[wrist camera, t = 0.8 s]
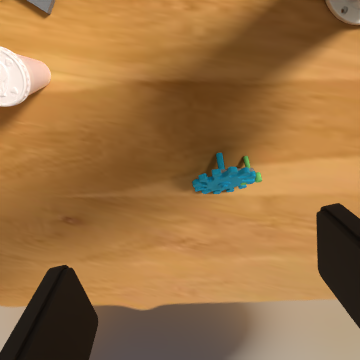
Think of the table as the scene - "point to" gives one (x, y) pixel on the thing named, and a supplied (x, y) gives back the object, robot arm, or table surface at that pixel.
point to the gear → (226, 178)
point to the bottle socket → (44, 4)
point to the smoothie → (20, 77)
